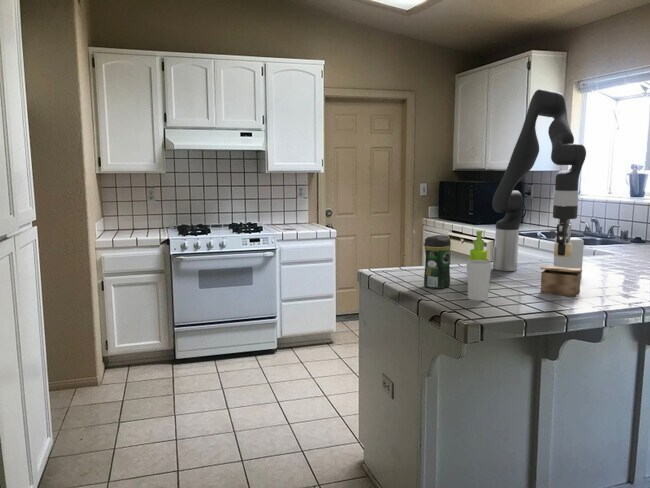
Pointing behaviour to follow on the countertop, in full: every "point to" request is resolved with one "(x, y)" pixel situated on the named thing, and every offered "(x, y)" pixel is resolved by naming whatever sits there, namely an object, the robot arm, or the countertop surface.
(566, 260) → the supplement box
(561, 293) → the box
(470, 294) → the cup
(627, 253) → the countertop surface
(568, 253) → the domed cream knob
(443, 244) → the coffee jar
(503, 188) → the robot arm
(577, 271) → the lid
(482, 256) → the soap dispenser
